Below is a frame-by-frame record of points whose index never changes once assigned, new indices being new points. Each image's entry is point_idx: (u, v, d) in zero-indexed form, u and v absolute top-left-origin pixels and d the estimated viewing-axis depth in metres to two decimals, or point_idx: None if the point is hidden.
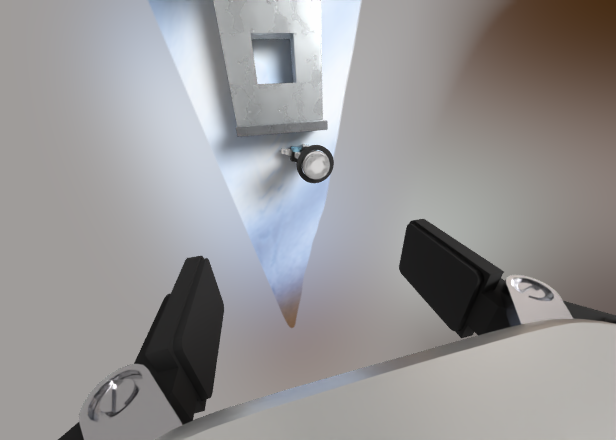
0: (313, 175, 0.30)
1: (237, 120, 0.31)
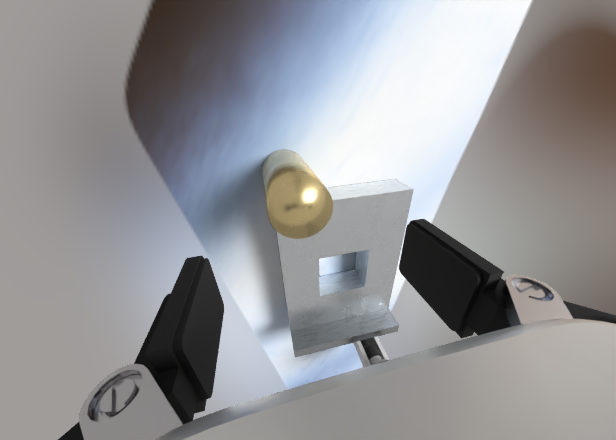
0: None
1: (291, 327, 0.26)
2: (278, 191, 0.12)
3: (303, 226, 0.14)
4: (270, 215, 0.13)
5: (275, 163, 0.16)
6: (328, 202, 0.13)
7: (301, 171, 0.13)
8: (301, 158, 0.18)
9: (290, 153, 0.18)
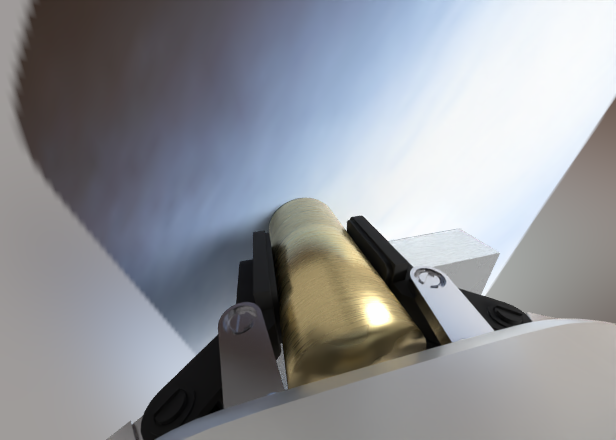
0: None
1: None
2: (315, 352, 0.05)
3: None
4: None
5: (293, 235, 0.09)
6: (416, 349, 0.06)
7: (356, 279, 0.06)
8: (332, 215, 0.11)
9: (315, 208, 0.11)
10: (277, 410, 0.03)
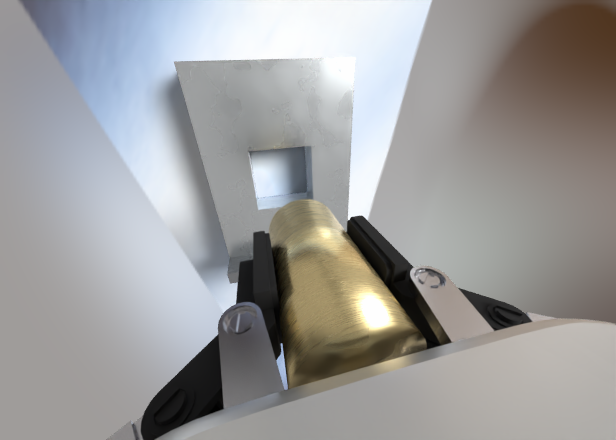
0: None
1: (229, 252, 0.22)
2: (316, 355, 0.05)
3: None
4: None
5: (294, 237, 0.09)
6: (417, 351, 0.06)
7: (356, 281, 0.06)
8: (332, 216, 0.11)
9: (315, 209, 0.11)
10: (277, 410, 0.03)
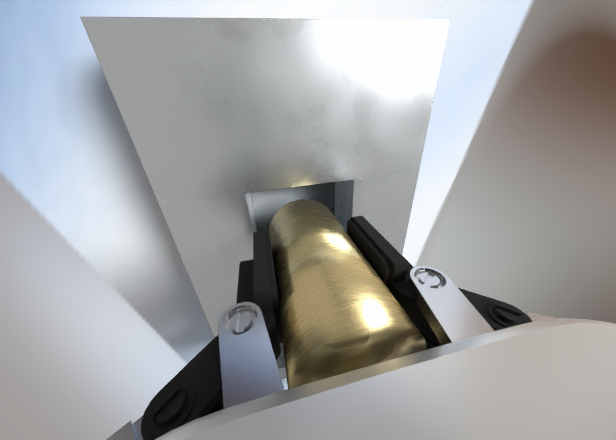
0: None
1: None
2: (316, 355, 0.05)
3: None
4: None
5: (294, 237, 0.09)
6: (417, 351, 0.06)
7: (356, 281, 0.06)
8: (332, 216, 0.11)
9: (315, 209, 0.11)
10: (277, 410, 0.03)
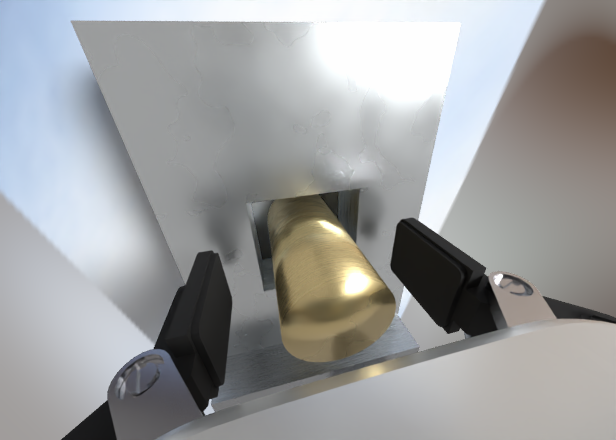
0: None
1: None
2: (302, 302, 0.06)
3: (342, 344, 0.08)
4: (286, 338, 0.07)
5: (288, 219, 0.10)
6: (388, 307, 0.07)
7: (338, 250, 0.08)
8: (324, 203, 0.12)
9: (308, 197, 0.12)
10: (277, 410, 0.03)
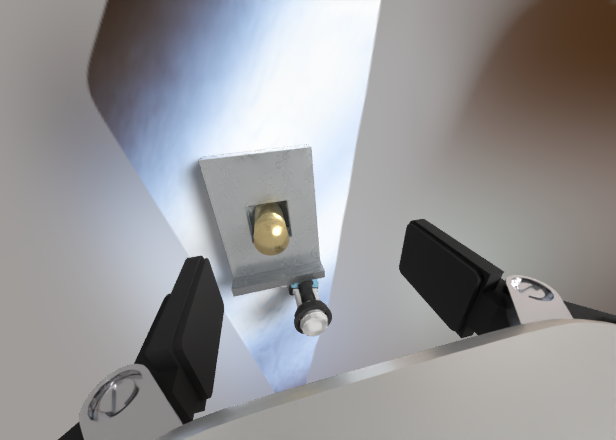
0: (311, 333, 0.30)
1: (233, 273, 0.31)
2: (258, 231, 0.24)
3: (273, 248, 0.25)
4: (255, 243, 0.24)
5: (260, 212, 0.28)
6: (286, 235, 0.25)
7: (271, 219, 0.25)
8: (277, 206, 0.30)
9: (270, 204, 0.30)
10: (277, 410, 0.03)
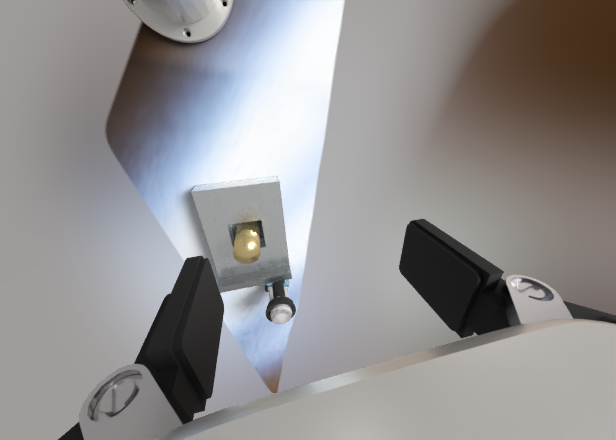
0: (279, 322, 0.38)
1: (219, 274, 0.39)
2: (236, 247, 0.32)
3: (248, 259, 0.33)
4: (234, 255, 0.33)
5: (239, 229, 0.36)
6: (258, 249, 0.33)
7: (247, 237, 0.33)
8: (254, 223, 0.38)
9: None
10: (277, 410, 0.03)
